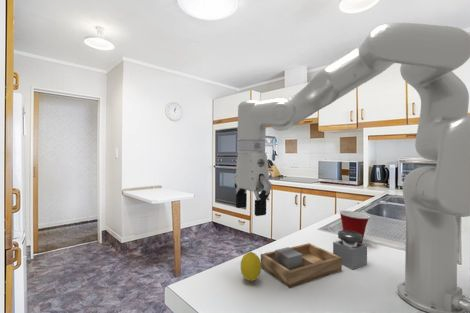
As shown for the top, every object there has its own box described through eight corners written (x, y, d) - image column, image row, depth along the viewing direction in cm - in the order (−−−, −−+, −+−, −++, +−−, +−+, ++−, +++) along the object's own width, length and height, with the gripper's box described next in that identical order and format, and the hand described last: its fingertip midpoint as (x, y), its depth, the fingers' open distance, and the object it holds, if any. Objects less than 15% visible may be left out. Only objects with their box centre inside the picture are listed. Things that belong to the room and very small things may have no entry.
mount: (366, 264, 76) (367, 245, 76) (352, 269, 73) (352, 249, 73) (347, 256, 82) (347, 238, 82) (333, 260, 79) (333, 242, 79)
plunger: (367, 262, 76) (367, 235, 76) (352, 267, 73) (352, 238, 73) (347, 254, 82) (347, 229, 82) (333, 258, 79) (333, 232, 79)
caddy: (341, 270, 72) (341, 250, 72) (289, 288, 62) (289, 265, 62) (309, 254, 83) (309, 237, 83) (260, 267, 74) (260, 247, 74)
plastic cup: (374, 250, 88) (375, 217, 87) (343, 248, 89) (343, 215, 89) (363, 239, 98) (364, 210, 98) (335, 238, 100) (335, 209, 100)
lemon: (248, 274, 70) (248, 246, 69) (264, 280, 66) (265, 251, 66) (236, 282, 65) (236, 252, 65) (253, 289, 62) (253, 258, 62)
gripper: (282, 147, 60) (281, 217, 60) (246, 148, 75) (245, 203, 75) (257, 146, 56) (256, 220, 56) (224, 147, 71) (223, 206, 71)
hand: (250, 211), depth 66 cm, fingers open, 9 cm apart
